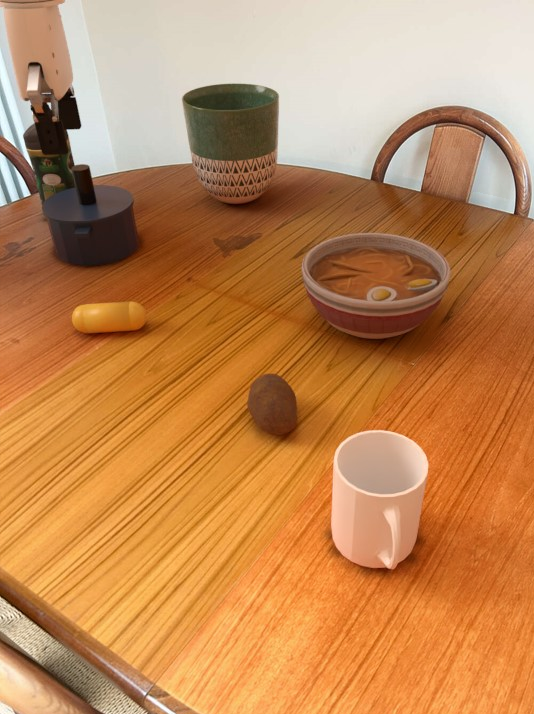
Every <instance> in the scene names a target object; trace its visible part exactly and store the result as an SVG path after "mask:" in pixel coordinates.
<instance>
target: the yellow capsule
mask: <svg viewBox="0 0 534 714" xmlns="http://www.w3.org/2000/svg"><path fill="white" fill-rule="evenodd" d="M147 318H148V316H147V310H146V309H145V307H144V306H143V305H142V304H140V303H139V302H136V301H115V302H114V301H113V302H101V303H100V302H97V303H84V304H80V305H79V306H77V307H75V309H74V310H73V311H72V314H71V322H72V325H73V327H74V328H75V329H76V330H77V331H78V332H80V333H82V334H100V333H101V334H102V333H112V332H113V333H116V332H118V333H119V332H130V331H137V330H140V329H142V328H143V327H144V326H145V324H146V322H147Z"/></svg>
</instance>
